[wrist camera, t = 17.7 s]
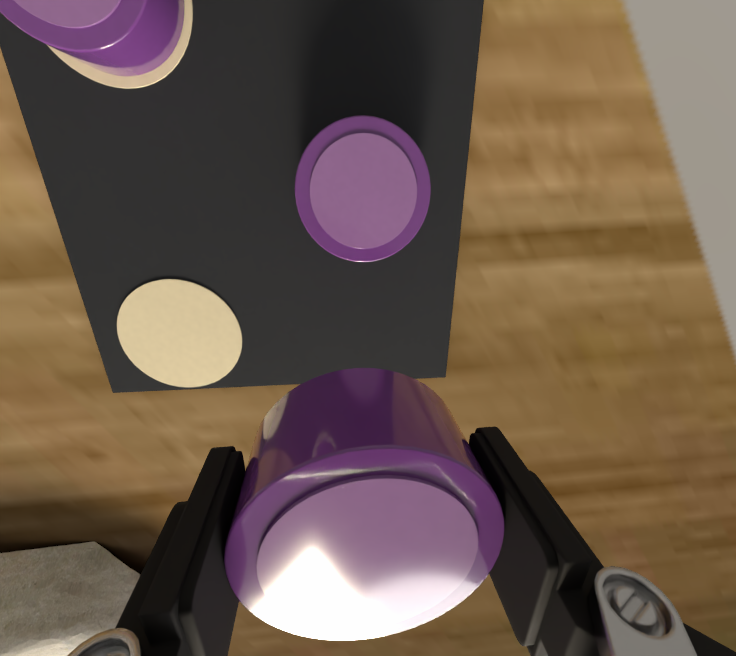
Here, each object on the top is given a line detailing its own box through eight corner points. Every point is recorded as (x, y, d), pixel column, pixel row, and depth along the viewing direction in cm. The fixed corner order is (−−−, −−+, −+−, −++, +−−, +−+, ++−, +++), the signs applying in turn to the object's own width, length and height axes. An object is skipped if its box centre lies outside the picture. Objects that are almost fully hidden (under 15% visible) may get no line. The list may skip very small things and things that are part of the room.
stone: (194, 599, 25) (191, 701, 31) (212, 511, 31) (207, 608, 37) (-410, 670, 17) (-264, 789, 23) (-222, 533, 24) (-144, 652, 29)
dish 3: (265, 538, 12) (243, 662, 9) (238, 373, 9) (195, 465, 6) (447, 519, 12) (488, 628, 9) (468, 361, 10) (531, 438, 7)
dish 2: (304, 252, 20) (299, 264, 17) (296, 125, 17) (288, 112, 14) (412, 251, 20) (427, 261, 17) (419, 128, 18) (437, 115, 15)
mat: (116, 389, 22) (111, 393, 22) (-53, -138, 13) (-67, -150, 13) (443, 374, 24) (446, 378, 24) (490, -95, 15) (495, -104, 15)
